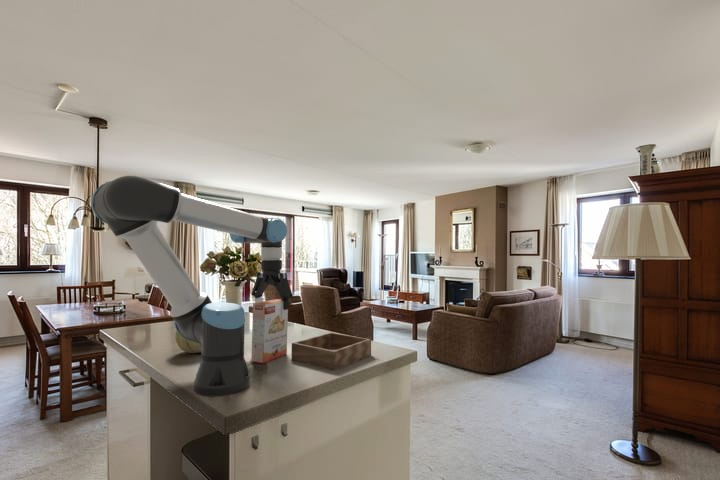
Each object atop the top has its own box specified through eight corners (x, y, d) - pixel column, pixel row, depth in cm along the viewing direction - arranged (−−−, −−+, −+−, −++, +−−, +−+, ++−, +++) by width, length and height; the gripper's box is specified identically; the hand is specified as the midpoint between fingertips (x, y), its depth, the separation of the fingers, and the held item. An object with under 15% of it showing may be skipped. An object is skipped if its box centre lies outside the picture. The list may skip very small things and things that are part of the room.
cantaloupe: (224, 350, 142) (225, 312, 143) (192, 360, 129) (193, 318, 130) (199, 345, 149) (199, 309, 150) (166, 354, 136) (167, 314, 136)
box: (334, 370, 118) (334, 351, 118) (291, 359, 130) (291, 343, 130) (371, 355, 136) (371, 339, 136) (330, 347, 148) (330, 332, 148)
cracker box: (264, 364, 124) (265, 303, 125) (250, 362, 127) (251, 302, 128) (288, 354, 137) (288, 299, 138) (275, 352, 140) (276, 298, 140)
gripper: (302, 259, 129) (302, 318, 129) (258, 258, 144) (257, 312, 143) (287, 260, 123) (287, 322, 122) (242, 259, 138) (241, 314, 137)
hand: (271, 316), depth 133 cm, fingers open, 13 cm apart
